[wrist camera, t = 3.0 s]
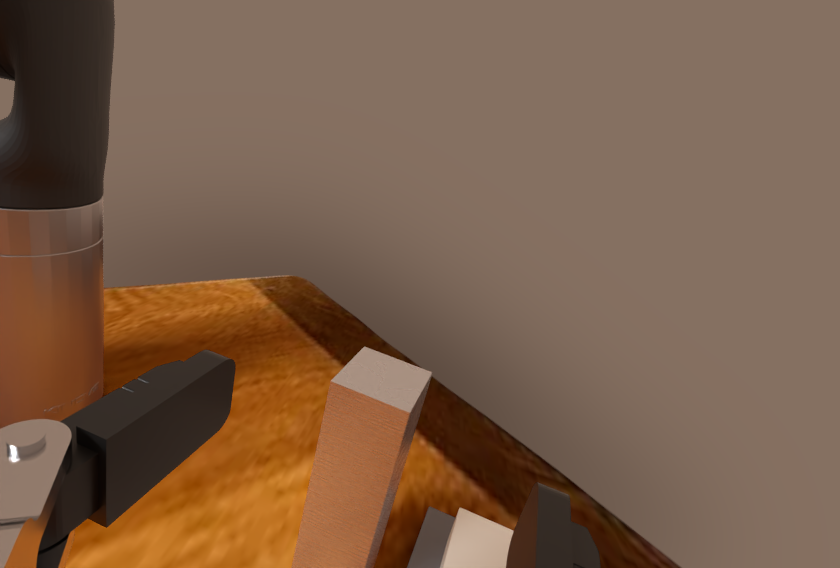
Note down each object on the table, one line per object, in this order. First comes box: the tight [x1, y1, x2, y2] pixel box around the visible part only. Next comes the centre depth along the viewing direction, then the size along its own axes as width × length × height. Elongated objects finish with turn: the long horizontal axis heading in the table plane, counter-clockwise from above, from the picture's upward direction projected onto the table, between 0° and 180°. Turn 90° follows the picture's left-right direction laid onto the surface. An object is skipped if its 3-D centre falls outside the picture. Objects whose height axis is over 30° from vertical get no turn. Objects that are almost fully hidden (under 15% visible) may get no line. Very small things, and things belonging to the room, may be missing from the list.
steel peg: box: [292, 347, 432, 568], centre depth 26 cm, size 4×4×16 cm
